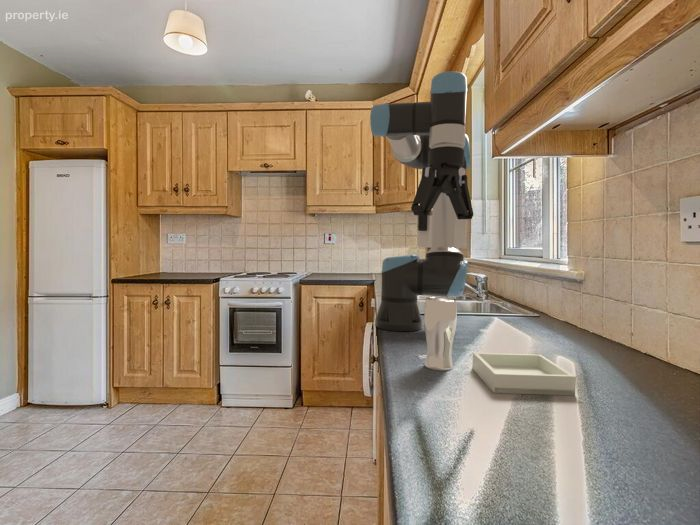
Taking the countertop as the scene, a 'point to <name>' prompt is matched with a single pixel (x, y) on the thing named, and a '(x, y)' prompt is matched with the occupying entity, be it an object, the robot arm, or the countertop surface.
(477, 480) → the countertop surface
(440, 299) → the beer glass
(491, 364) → the tray
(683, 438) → the countertop surface
